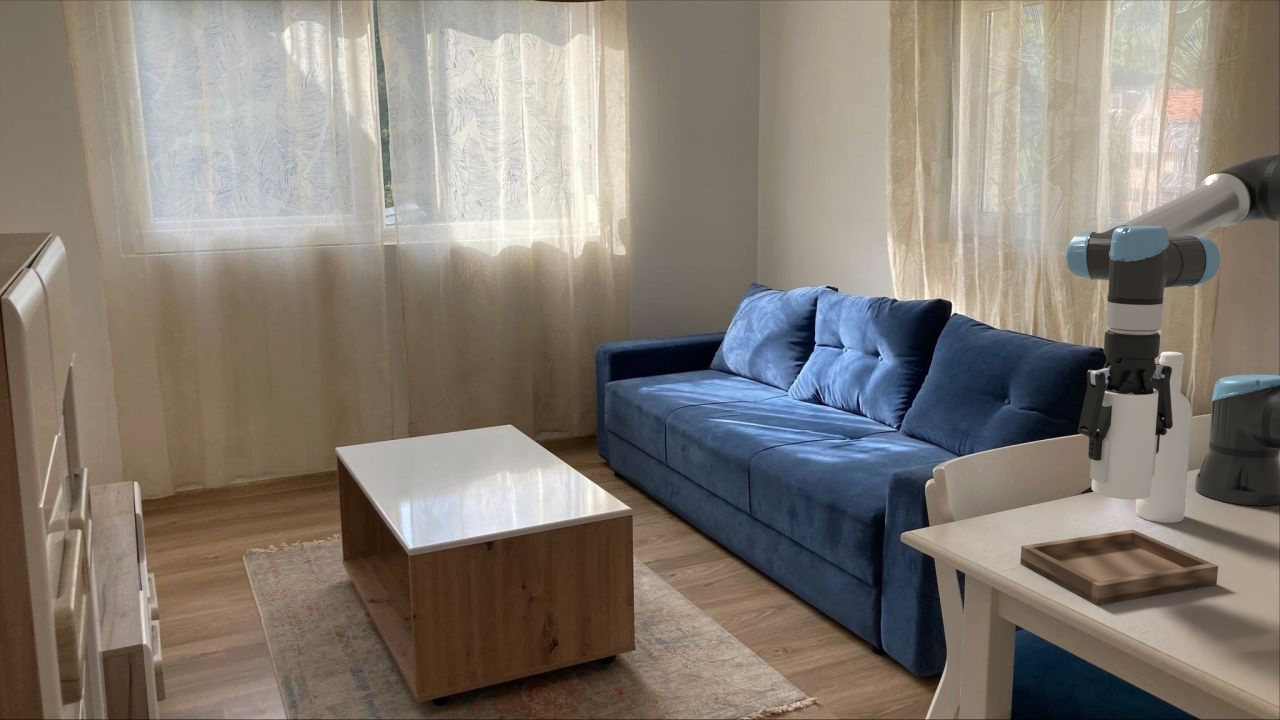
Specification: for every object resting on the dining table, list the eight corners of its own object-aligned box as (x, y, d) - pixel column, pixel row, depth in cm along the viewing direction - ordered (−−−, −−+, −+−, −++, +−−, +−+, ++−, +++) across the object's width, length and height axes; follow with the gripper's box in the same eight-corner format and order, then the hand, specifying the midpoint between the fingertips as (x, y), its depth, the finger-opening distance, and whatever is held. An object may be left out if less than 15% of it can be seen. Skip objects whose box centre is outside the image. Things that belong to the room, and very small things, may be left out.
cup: (1157, 501, 151) (1165, 395, 149) (1098, 498, 153) (1105, 394, 150) (1142, 484, 159) (1149, 384, 157) (1086, 482, 161) (1092, 383, 158)
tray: (1131, 546, 170) (1132, 529, 169) (1216, 584, 154) (1218, 565, 153) (1020, 563, 163) (1021, 545, 163) (1097, 605, 147) (1098, 585, 147)
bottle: (1194, 522, 181) (1208, 356, 176) (1153, 524, 180) (1166, 358, 175) (1165, 507, 189) (1177, 348, 183) (1126, 510, 188) (1137, 350, 182)
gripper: (1169, 323, 158) (1158, 464, 162) (1056, 331, 152) (1048, 477, 156) (1209, 329, 151) (1196, 477, 155) (1092, 338, 145) (1082, 491, 149)
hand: (1122, 477), depth 156 cm, fingers closed on cup, 8 cm apart
